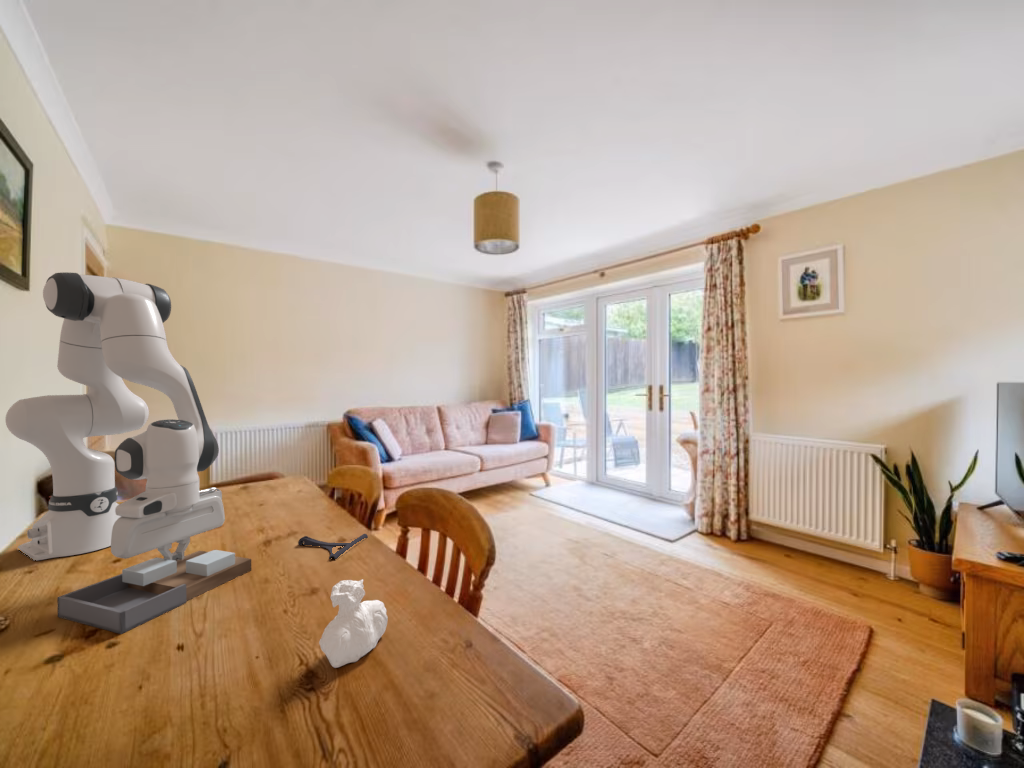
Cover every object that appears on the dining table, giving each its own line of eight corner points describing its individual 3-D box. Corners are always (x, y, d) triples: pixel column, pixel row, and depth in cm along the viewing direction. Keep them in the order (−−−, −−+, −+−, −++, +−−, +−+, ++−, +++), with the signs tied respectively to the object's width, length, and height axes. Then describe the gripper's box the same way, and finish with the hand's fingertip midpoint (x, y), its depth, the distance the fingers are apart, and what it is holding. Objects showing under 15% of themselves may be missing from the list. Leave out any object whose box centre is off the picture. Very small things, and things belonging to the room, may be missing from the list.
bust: (381, 641, 69) (351, 579, 72) (408, 622, 67) (376, 559, 70) (318, 688, 59) (286, 614, 62) (348, 669, 56) (313, 592, 59)
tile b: (185, 572, 85) (185, 560, 85) (214, 560, 91) (214, 549, 91) (206, 576, 83) (206, 564, 83) (235, 564, 89) (234, 552, 89)
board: (128, 589, 83) (128, 577, 83) (199, 561, 96) (199, 550, 96) (184, 602, 78) (184, 589, 78) (251, 570, 92) (251, 558, 92)
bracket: (317, 536, 113) (317, 526, 113) (367, 539, 111) (367, 529, 111) (279, 559, 99) (279, 547, 99) (335, 563, 96) (335, 551, 96)
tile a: (122, 581, 81) (122, 569, 81) (156, 568, 87) (156, 557, 87) (143, 586, 80) (143, 573, 80) (176, 572, 85) (176, 560, 85)
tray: (57, 616, 74) (57, 597, 74) (126, 589, 83) (125, 572, 83) (121, 634, 68) (120, 613, 68) (186, 602, 78) (186, 584, 78)
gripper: (211, 484, 98) (211, 542, 98) (104, 509, 79) (105, 582, 79) (231, 486, 97) (231, 545, 97) (127, 512, 77) (128, 586, 77)
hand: (174, 562), depth 88 cm, fingers closed
